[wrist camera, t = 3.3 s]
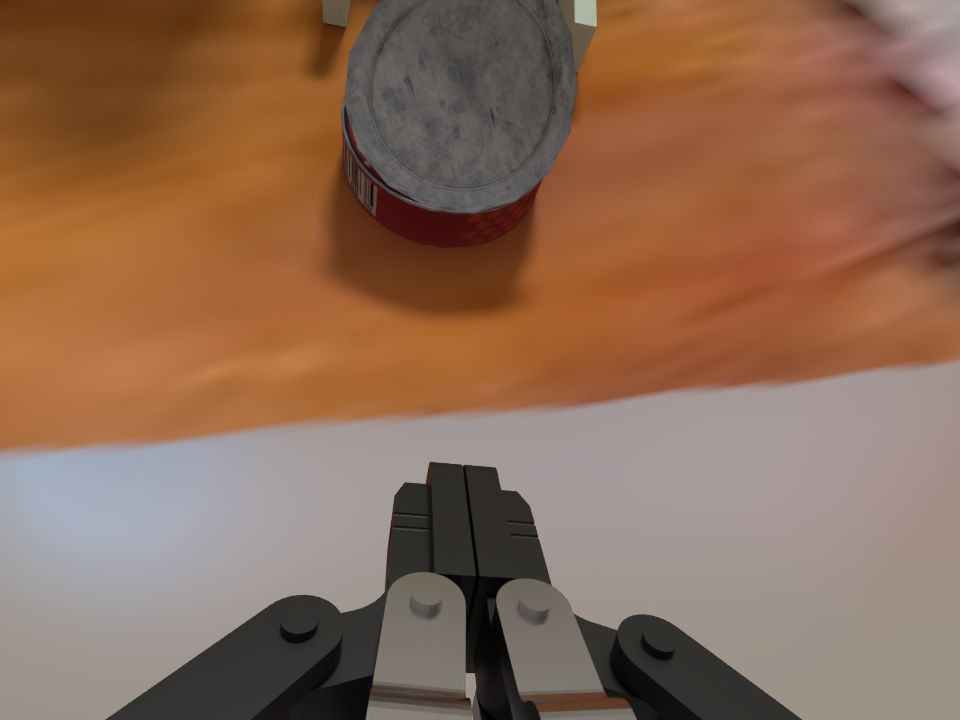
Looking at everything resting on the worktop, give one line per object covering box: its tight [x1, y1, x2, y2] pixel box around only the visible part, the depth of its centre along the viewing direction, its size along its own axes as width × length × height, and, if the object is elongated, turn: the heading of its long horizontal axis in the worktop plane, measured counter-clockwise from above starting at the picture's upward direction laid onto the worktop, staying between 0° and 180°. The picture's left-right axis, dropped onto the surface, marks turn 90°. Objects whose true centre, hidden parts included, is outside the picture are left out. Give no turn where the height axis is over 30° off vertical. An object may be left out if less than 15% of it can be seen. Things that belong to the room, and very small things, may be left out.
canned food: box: [341, 0, 578, 248], centre depth 28 cm, size 11×10×10 cm
